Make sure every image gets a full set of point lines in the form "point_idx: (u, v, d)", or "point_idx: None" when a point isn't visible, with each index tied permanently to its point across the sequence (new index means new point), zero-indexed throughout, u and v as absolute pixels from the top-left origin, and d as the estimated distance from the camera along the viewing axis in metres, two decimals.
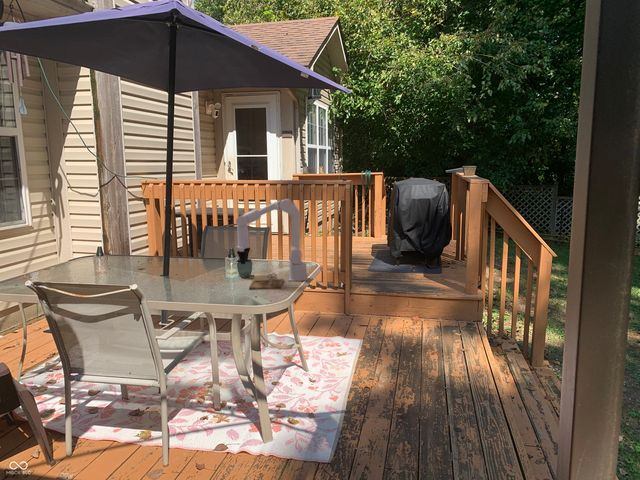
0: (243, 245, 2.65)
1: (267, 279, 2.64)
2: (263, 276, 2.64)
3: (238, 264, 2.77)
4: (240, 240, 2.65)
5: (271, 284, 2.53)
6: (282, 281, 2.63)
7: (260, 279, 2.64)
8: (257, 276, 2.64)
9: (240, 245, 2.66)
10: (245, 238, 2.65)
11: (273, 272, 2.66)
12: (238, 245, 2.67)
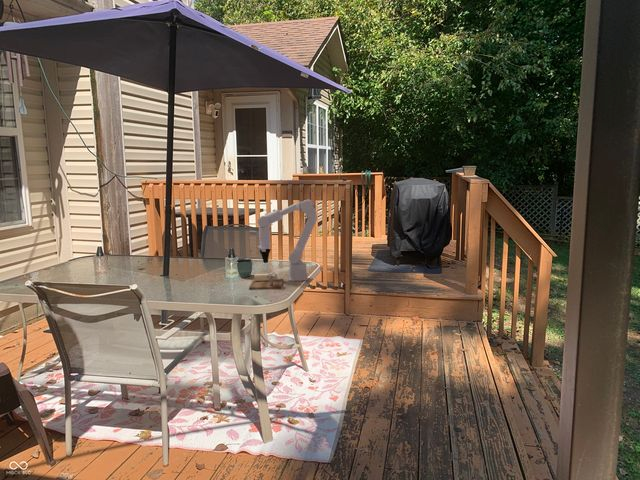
0: (265, 245, 2.67)
1: (267, 279, 2.64)
2: (263, 276, 2.64)
3: (238, 264, 2.77)
4: (262, 240, 2.67)
5: (271, 284, 2.53)
6: (282, 281, 2.63)
7: (260, 279, 2.64)
8: (257, 276, 2.64)
9: (262, 245, 2.67)
10: (267, 238, 2.67)
11: (273, 272, 2.66)
12: (260, 245, 2.68)
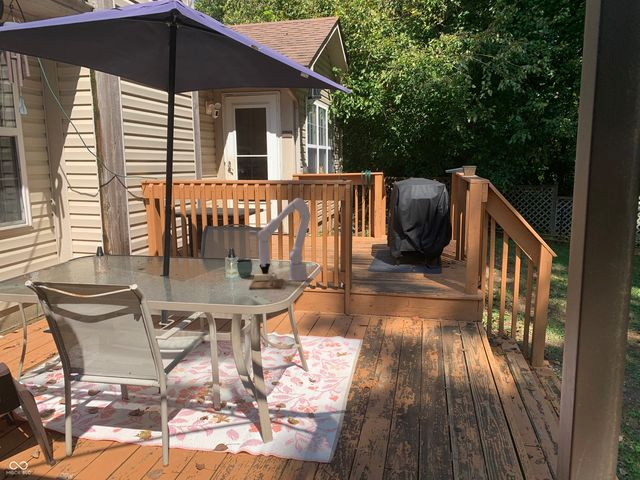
0: (265, 260, 2.64)
1: (267, 279, 2.64)
2: (263, 276, 2.64)
3: (238, 264, 2.77)
4: (262, 255, 2.64)
5: (271, 284, 2.53)
6: (282, 281, 2.63)
7: (260, 279, 2.64)
8: (257, 276, 2.64)
9: (262, 260, 2.64)
10: (267, 253, 2.64)
11: (273, 272, 2.66)
12: (259, 260, 2.66)
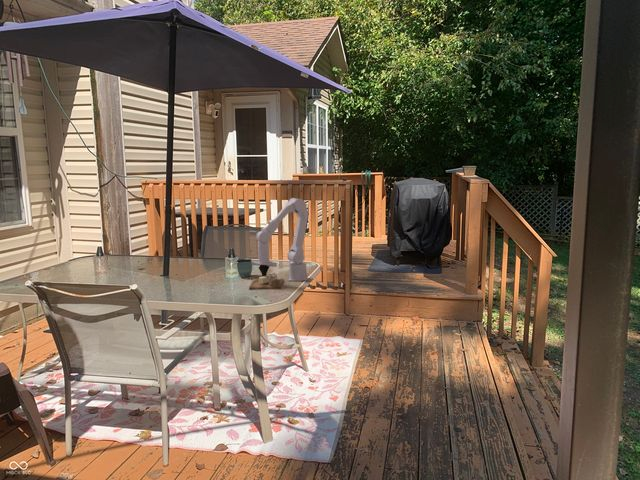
0: (268, 261, 2.61)
1: None
2: None
3: (238, 264, 2.77)
4: (266, 256, 2.59)
5: (271, 284, 2.53)
6: (282, 281, 2.63)
7: (267, 281, 2.59)
8: (265, 278, 2.58)
9: (266, 261, 2.60)
10: None
11: None
12: (263, 262, 2.59)
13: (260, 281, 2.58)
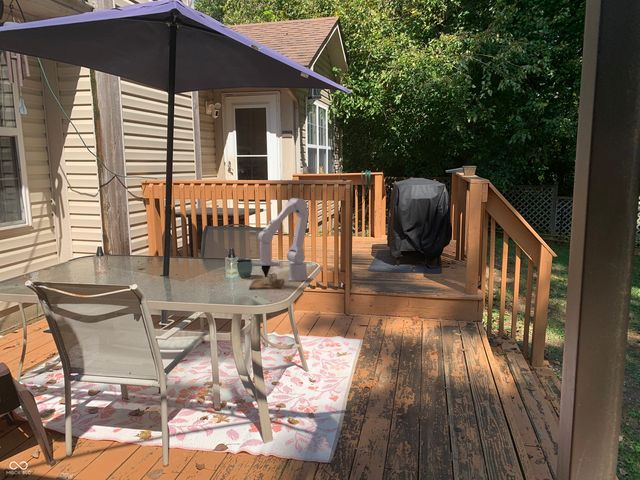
0: None
1: (274, 280, 2.62)
2: None
3: (238, 264, 2.77)
4: (270, 256, 2.59)
5: (271, 284, 2.53)
6: (282, 281, 2.63)
7: None
8: None
9: (270, 261, 2.59)
10: None
11: None
12: (267, 262, 2.58)
13: (266, 282, 2.56)
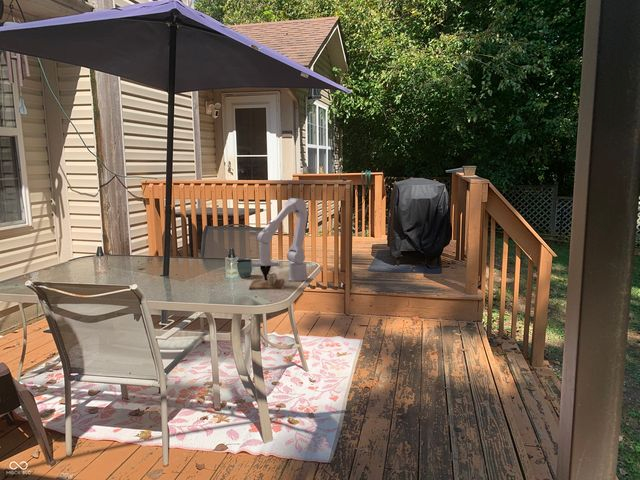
0: (270, 261, 2.60)
1: (275, 279, 2.63)
2: None
3: (238, 264, 2.77)
4: (270, 256, 2.58)
5: (271, 284, 2.53)
6: (282, 281, 2.63)
7: (274, 281, 2.59)
8: (274, 278, 2.57)
9: (270, 261, 2.59)
10: None
11: None
12: (267, 262, 2.57)
13: None
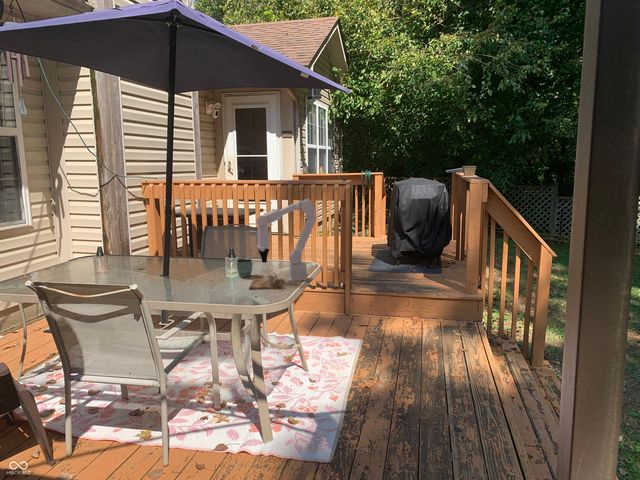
0: (264, 245, 2.65)
1: (275, 279, 2.63)
2: None
3: (238, 264, 2.77)
4: (261, 240, 2.65)
5: (271, 284, 2.53)
6: (282, 281, 2.63)
7: (274, 281, 2.59)
8: (274, 278, 2.57)
9: (260, 245, 2.66)
10: (266, 238, 2.65)
11: None
12: (258, 245, 2.67)
13: None
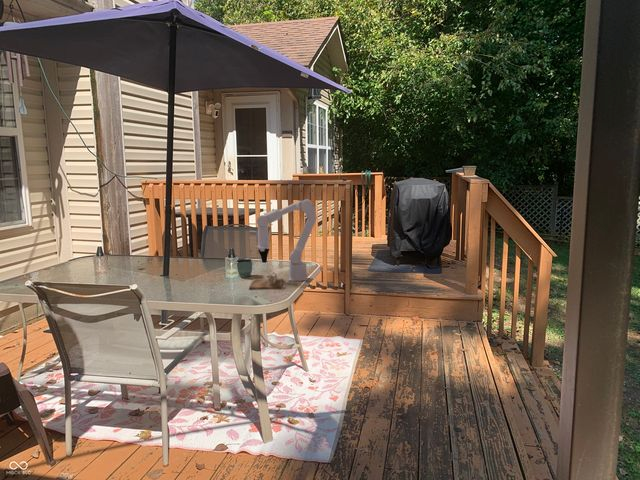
0: (264, 245, 2.65)
1: (275, 279, 2.63)
2: None
3: (238, 264, 2.77)
4: (261, 240, 2.65)
5: (271, 284, 2.53)
6: (282, 281, 2.63)
7: (274, 281, 2.59)
8: (274, 278, 2.57)
9: (260, 245, 2.66)
10: (266, 238, 2.65)
11: None
12: (258, 245, 2.67)
13: None
